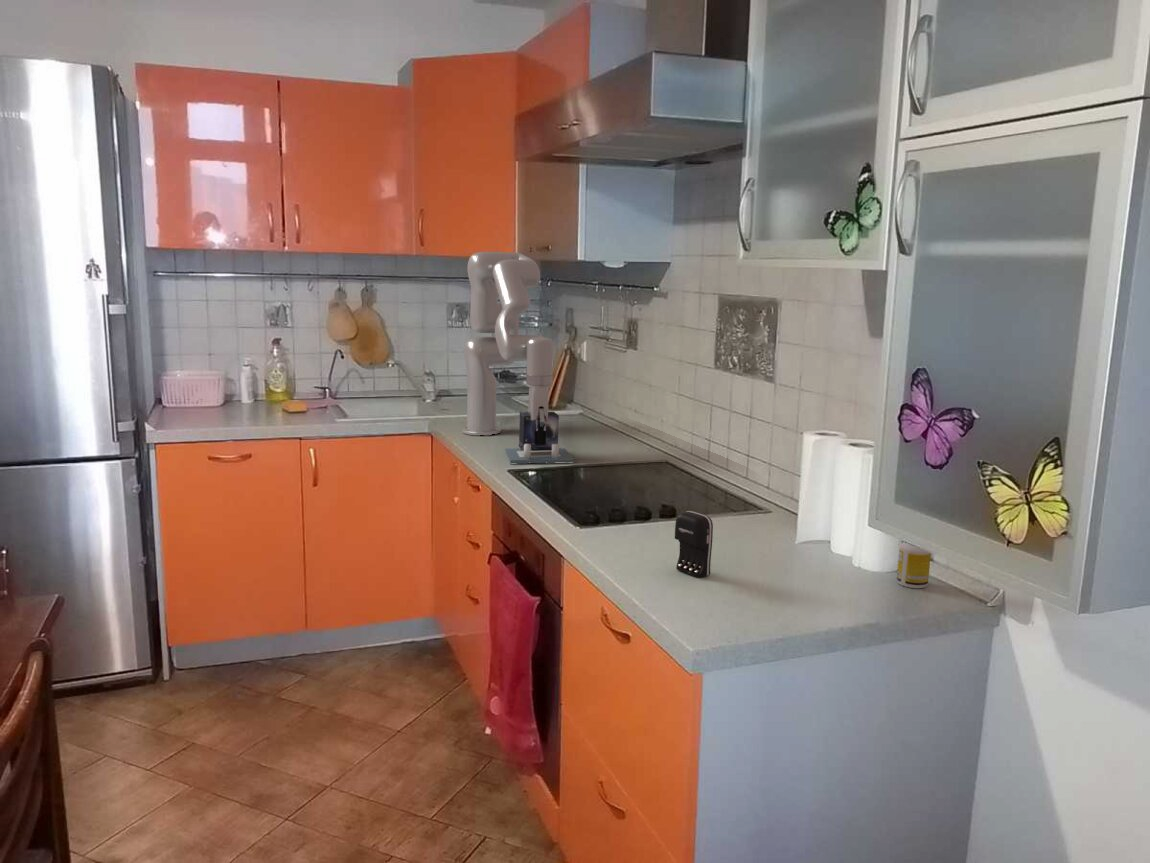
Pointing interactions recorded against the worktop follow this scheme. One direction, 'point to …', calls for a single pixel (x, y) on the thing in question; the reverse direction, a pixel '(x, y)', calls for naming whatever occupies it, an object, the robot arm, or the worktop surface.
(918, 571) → the supplement bottle
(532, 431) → the small box
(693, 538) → the battery charger
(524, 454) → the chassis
